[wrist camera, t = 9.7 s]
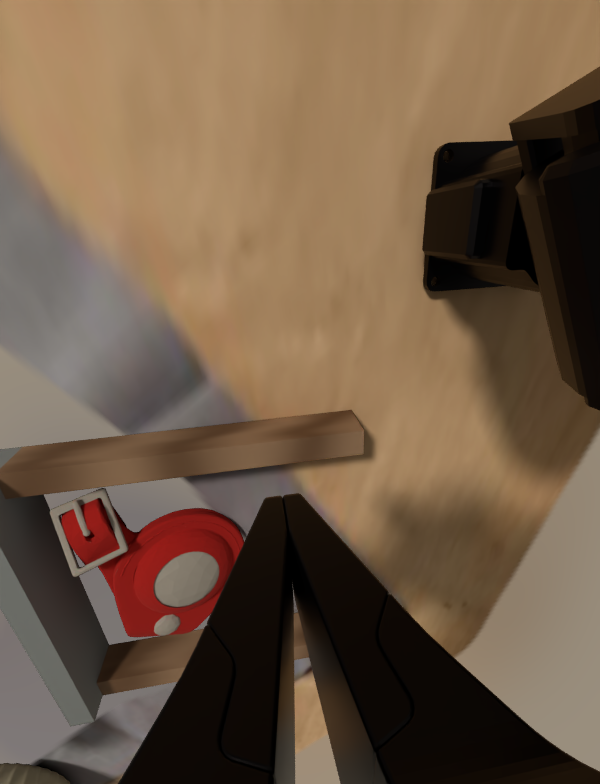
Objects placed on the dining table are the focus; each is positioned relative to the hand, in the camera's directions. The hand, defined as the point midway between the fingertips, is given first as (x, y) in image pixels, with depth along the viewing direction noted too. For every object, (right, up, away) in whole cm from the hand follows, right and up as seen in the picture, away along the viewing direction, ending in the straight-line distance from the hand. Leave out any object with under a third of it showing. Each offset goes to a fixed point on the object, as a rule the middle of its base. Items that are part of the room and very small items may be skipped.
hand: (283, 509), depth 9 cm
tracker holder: (-9, -7, +15) cm, 19 cm away
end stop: (-15, -9, +15) cm, 23 cm away
